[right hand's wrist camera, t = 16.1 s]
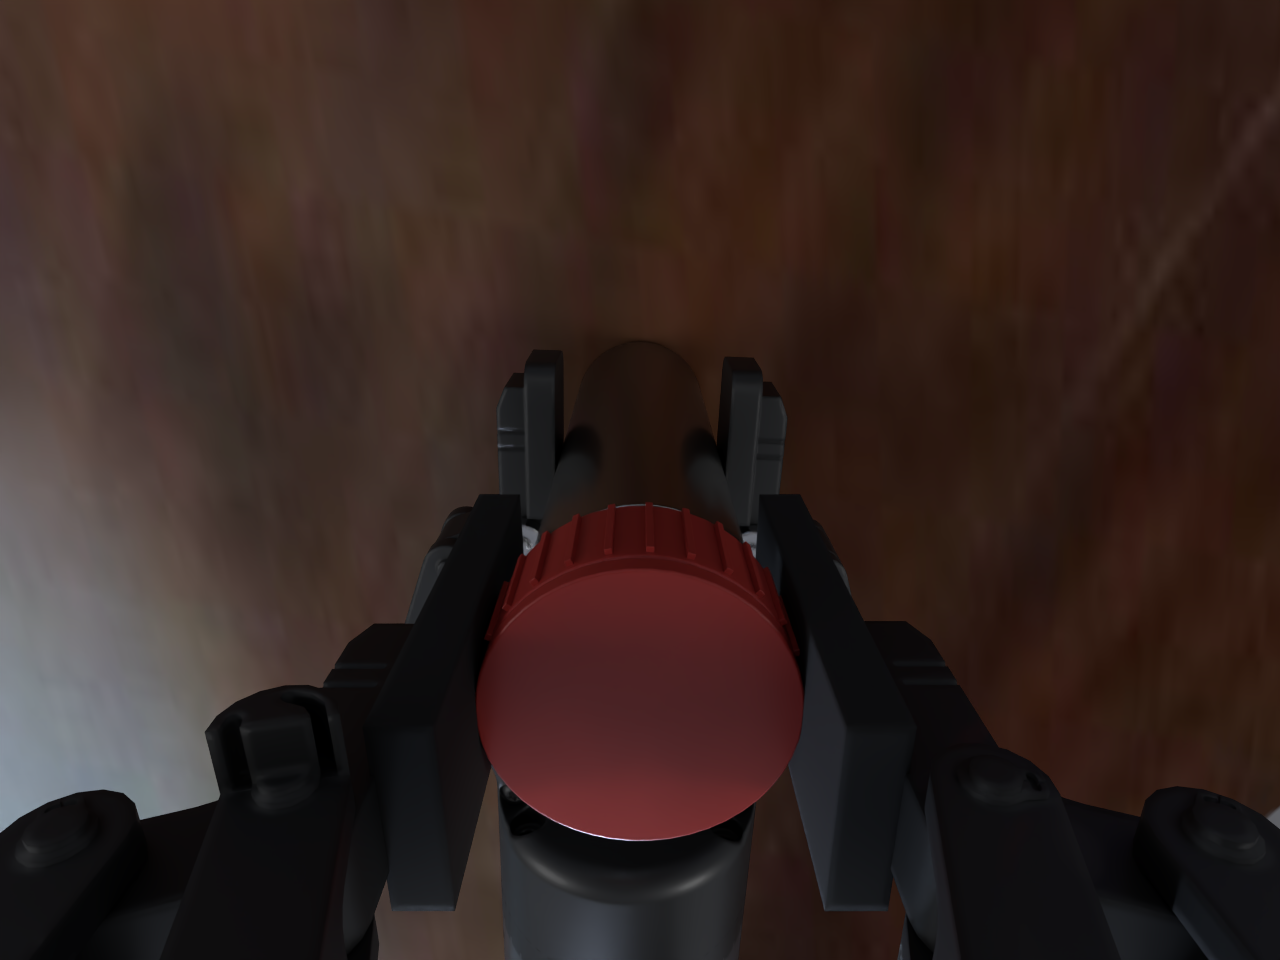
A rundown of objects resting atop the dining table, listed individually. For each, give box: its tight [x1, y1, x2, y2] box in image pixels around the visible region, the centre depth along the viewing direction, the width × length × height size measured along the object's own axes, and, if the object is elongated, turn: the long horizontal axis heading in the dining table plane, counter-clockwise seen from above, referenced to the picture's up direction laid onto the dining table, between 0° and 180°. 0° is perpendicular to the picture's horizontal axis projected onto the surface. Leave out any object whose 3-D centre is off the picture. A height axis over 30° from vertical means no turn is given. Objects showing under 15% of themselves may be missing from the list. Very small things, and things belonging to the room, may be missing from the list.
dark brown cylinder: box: [534, 342, 744, 547], centre depth 18 cm, size 4×4×15 cm
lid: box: [475, 502, 804, 841], centre depth 11 cm, size 5×5×2 cm
